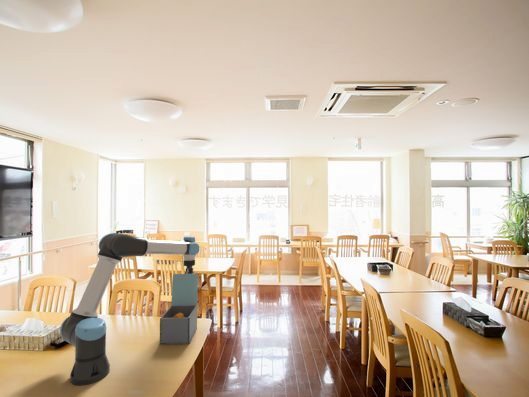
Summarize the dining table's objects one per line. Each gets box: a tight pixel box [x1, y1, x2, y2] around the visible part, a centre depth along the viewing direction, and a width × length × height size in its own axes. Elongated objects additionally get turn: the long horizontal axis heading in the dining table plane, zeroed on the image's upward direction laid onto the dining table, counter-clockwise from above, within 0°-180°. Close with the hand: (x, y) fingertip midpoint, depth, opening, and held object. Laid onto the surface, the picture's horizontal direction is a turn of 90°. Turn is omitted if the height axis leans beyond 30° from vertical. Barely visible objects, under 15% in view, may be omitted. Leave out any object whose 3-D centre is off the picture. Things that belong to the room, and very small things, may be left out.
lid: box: [170, 273, 199, 306], centre depth 176 cm, size 19×16×1 cm
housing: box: [159, 304, 198, 346], centre depth 164 cm, size 20×16×14 cm
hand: (189, 295), depth 188 cm, fingers closed
